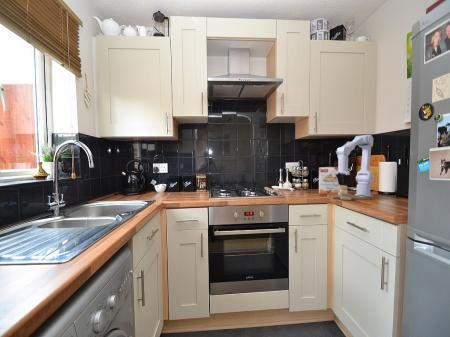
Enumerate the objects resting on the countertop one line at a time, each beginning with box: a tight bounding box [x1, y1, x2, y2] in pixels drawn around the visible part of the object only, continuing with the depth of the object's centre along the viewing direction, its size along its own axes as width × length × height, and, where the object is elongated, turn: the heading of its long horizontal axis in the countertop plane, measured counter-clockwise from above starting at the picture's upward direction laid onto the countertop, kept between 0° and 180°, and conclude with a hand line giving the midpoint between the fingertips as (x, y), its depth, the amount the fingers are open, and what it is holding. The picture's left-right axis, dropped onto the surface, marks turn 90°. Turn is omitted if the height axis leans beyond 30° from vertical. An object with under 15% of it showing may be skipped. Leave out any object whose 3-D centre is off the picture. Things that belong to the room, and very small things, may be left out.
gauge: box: [338, 184, 352, 201], centre depth 147 cm, size 9×6×8 cm, turn 174°
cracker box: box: [318, 166, 341, 195], centre depth 169 cm, size 14×6×21 cm, turn 76°
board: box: [326, 194, 373, 201], centre depth 150 cm, size 12×24×2 cm, turn 84°
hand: (342, 184), depth 147 cm, fingers open, 7 cm apart
